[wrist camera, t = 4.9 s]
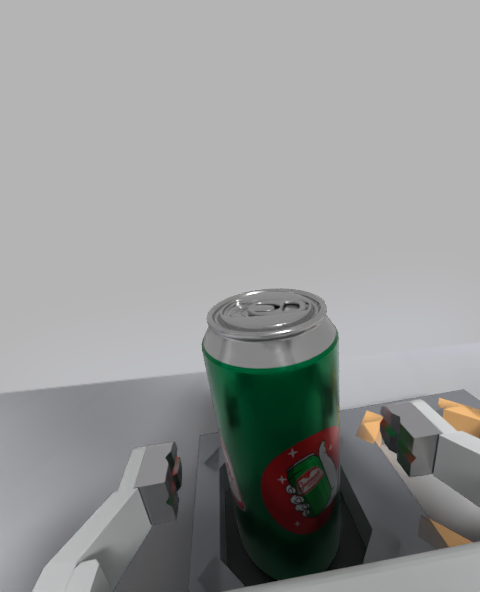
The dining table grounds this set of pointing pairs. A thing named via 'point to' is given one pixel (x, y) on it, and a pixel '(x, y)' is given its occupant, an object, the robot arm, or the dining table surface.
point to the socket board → (353, 484)
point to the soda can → (279, 425)
